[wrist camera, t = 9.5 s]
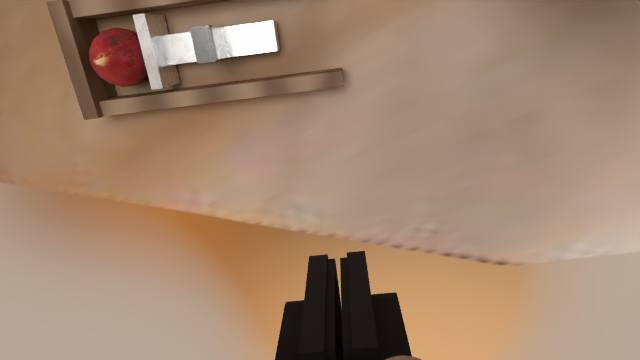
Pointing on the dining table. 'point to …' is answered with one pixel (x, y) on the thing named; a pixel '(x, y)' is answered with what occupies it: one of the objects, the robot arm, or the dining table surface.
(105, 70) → the pomegranate
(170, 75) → the grey angular piece
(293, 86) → the guide
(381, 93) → the dining table surface
